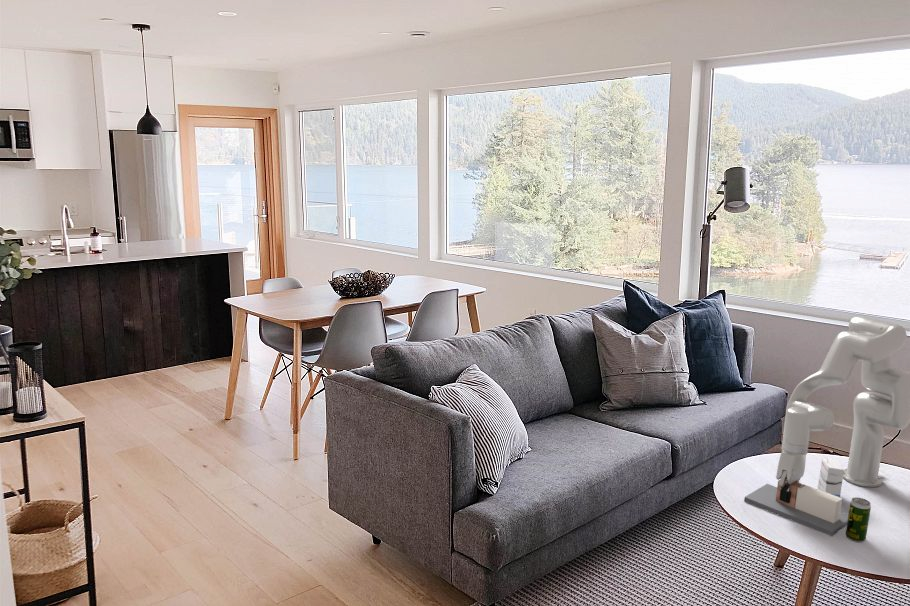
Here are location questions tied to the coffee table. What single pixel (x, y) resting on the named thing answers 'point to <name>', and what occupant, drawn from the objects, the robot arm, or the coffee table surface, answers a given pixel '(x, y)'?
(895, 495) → the coffee table surface
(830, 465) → the ink box
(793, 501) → the stub
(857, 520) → the beer can
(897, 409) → the robot arm
